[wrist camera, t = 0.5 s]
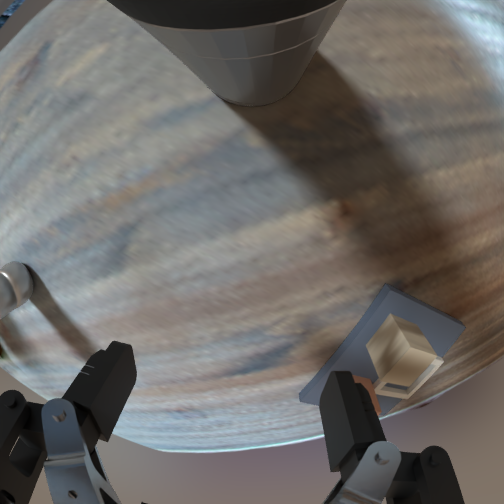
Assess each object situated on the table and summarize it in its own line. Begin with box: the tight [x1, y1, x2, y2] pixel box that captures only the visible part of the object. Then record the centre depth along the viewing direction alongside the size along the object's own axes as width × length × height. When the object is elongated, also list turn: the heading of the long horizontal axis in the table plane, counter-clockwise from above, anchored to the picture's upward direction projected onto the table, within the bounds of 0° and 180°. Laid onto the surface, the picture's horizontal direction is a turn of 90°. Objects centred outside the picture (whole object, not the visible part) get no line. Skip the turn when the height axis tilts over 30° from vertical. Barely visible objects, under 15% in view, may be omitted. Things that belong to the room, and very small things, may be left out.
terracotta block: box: [352, 375, 382, 416], centre depth 30 cm, size 5×5×6 cm
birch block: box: [366, 313, 437, 387], centre depth 26 cm, size 5×5×6 cm
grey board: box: [299, 283, 466, 415], centre depth 31 cm, size 20×17×2 cm
